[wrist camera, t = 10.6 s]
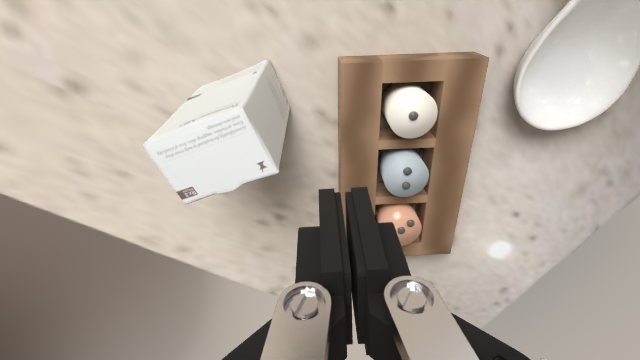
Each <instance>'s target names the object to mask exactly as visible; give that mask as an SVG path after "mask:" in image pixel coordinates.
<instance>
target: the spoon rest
mask: <svg viewBox="0 0 640 360" xmlns="http://www.w3.org/2000/svg"><path fill="white" fill-rule="evenodd" d="M639 65H640V0H570V1H569V2H568V3H567V4H566V5H565V7H564V8H563V9H562V10H561V11H560V12H559V13H558V14H557V15H556V16H555V17H554V18H553V19H552V20H551V22H550V23H549V24H548V25H547V26H546V27H545V28H544V29H543V30H542V31H541V32H540V33H539V35H538V36H537V37H536V38H535V39H534V41H533V42H532V43H531V45H530V46H529V47H528V49H527V50H526V52H525V54H524V55H523V57H522V59H521V61H520V63H519V66H518V68H517V71H516V74H515V78H514V85H513V94H514V101H515V106H516V108H517V111H518V113H519V114H520V116H521V117H522V118H523V120H524V121H525V122H527V123H528V124H529V125H531V126H533V127H535V128H538V129H542V130H563V129H568V128H572V127H576V126H579V125H581V124H584V123H586V122H588V121H590V120H592V119H594V118H595V117H597V116H599V115H600V114H602V113H603V112H604V111H606V110H607V109H608V108H609V107H610V106H611V105H613V104H614V103H615V102H616V101H617V100H618V99H619V97H620V96H621V95H622V94H623V93H624V91H625V90H626V89H627V87H628V86H629V84H630V83H631V81H632V79H633V77H634V76H635V74H636V72H637V70H638V68H639Z"/></svg>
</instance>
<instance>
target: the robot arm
mask: <svg viewBox="0 0 640 360" xmlns="http://www.w3.org/2000/svg"><path fill="white" fill-rule="evenodd" d="M345 205H346V230H345V223H344V215H343V207H342V200H341V193H340V192H337V193H335V192H334V189H319V216H320V226H317V227H301V228H299V230H298V245H297V262H296V279H295V284H293V285H291V286H289V287H288V288H286V289H285V290H284V291H283V292H282V293H281V295H280V297H279V299H278V301H277V305H276V308H275V311H274V315H273V318H272V319H271V320H270V321H268V322H267V323H266V324H265V325H263V326H262V327H261V328H260V329H259V330H257V331H256V332H255V333H254V334H252V335H251V336H250V337H249V338H248V339H246V340H245V341H244V342H243V343H241V344H240V345H239V346H238V347H237V348H235V349H234V350H233V351H232V352H230V353H229V354H228V355H227V356H226V357H224V358H223V359H222V360H345V359H346V358H347V344H352V343H353V340H352V300H353V308H354V316H355V324H356V331H357V340H358V344H365V349H366V355H369V356H370V357H371V358H373V359H374V360H530V359H529V358H528V357H526V356H525V355H523V354H522V353H520V352H519V351H517V350H515V349H514V348H512V347H510V346H508V345H507V344H505V343H503V342H501V341H500V340H498V339H496V338H494V337H493V336H491V335H489V334H487V333H486V332H484V331H482V330H480V329H479V328H477V327H475V326H474V325H472V324H470V323H468V322H467V321H465V320H463V319H461V318H460V317H458V316H456V315H454V314H453V313H451V312H450V311H449V309H448V307H447V306H446V304H445V302H444V301H443V299H442V297H441V296H440V294H439V293H438V291H437V290H436V289H435V287H434V286H433V285H432V284H430V283H429V282H428V281H426V280H424V279H421V278H419V277H414V276H411V274H410V271H409V268H408V265H407V262H406V259H405V256H404V253H403V250H402V247H401V244H400V241H399V238H398V235H397V232H396V229H395V226H394V224H393V222H383V223H376V219H375V215H374V212H373V208H372V204H371V200H370V196H369V193H368V189H367V187H351V192H345ZM351 292H352V297H351ZM540 360H548V359H540Z"/></svg>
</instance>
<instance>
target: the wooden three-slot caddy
mask: <svg viewBox="0 0 640 360" xmlns="http://www.w3.org/2000/svg"><path fill="white" fill-rule="evenodd" d="M488 62H489V57H486V56H483V55H481V54H478V53H476V52H454V53H428V54H401V55H374V56H347V57H338V143H339V192H340V193H341V200H342V207H343V215H344V223H345V230H346V205H345V192H351V187H367V189H368V193H369V196H370V200H371V204H372V208H373V212H374V215H375V205H378V204H401V203H416V209H415V212H416V214H417V216H418V218H419V220H420V223H421V227H422V228H421V233H420V235H419V236H418V238H417V239H416V240H415V241H413V242H412V243H410V244H407V245H404V246H401V247H402V250H403V253H404V256H408V255H430V254H450V252H451V247H452V242H453V237H454V232H455V227H456V222H457V217H458V212H459V207H460V202H461V197H462V192H463V187H464V182H465V177H466V172H467V167H468V162H469V157H470V152H471V147H472V142H473V137H474V132H475V127H476V122H477V117H478V112H479V107H480V102H481V97H482V92H483V87H484V82H485V77H486V72H487V67H488ZM429 81H432V82H431V90H430V96H431V97H432V98H433V99H434V101H435V102H436V105H437V109H438V114H437V119H436V121H435V123H434V125H433V127H432V128H431V129H430V130H429V131H428V132H427V133H425V134H424V135H422V136H420V137H417V138H411V139H410V138H403V137H400V136H398V135H397V134H396V133H394V131H393V130H392V129H391V128H385V129H380V114H381V96H382V83H403V82H429ZM405 148H423V154H422V161H423V162H424V164H425V165H426V167H427V169H428V172H429V178H428V182H427V184H426V185H425V187H424V188H423V189H422V190H421V191H420V192H418V193H417V194H415V195H412V196H409V197H399V196H395V195H393V194H391V193H390V192H389V191H388V190H387V188H386V186H385V184H384V182H377V166H378V150H380V149H405Z"/></svg>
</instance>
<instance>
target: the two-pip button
mask: <svg viewBox="0 0 640 360" xmlns="http://www.w3.org/2000/svg"><path fill="white" fill-rule="evenodd" d="M378 168H379V171H380V173H381V176H382V178H383V181H384V184H385V186H386V188H387V190H388V191H389V192H390V193H391V194H393V195H395V196H399V197H409V196H412V195H415V194H417V193H418V192H420V191H421V190H422V189H423V188H424V187H425V185H426V184H427V182H428V178H429V172H428V169H427V167H426V165H425V164H424V162H423V161H422V159H421V157H420V156H419V154H418V153H417V151H416V150H415V148H405V149H382V151H381V152H380V154H379V156H378Z"/></svg>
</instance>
